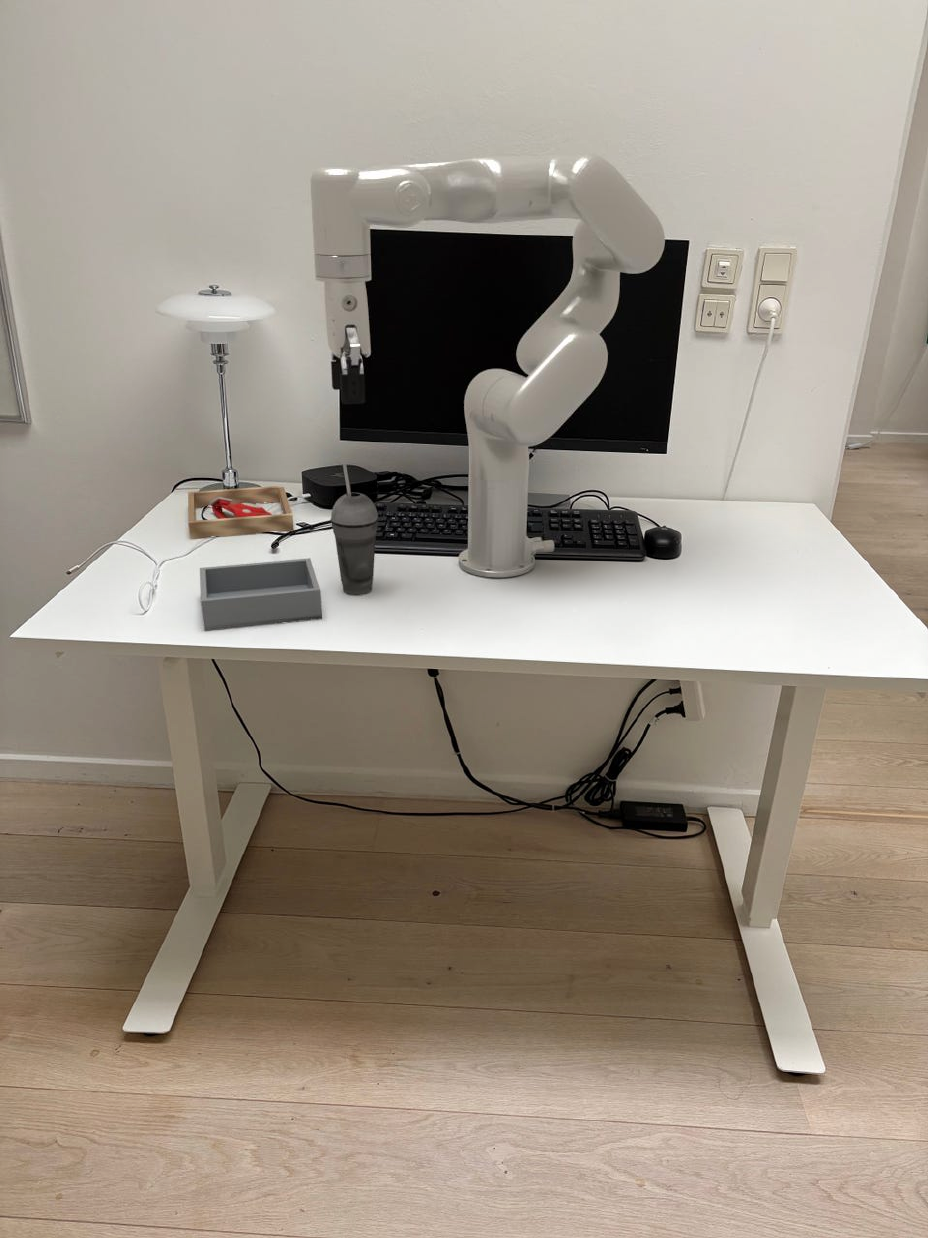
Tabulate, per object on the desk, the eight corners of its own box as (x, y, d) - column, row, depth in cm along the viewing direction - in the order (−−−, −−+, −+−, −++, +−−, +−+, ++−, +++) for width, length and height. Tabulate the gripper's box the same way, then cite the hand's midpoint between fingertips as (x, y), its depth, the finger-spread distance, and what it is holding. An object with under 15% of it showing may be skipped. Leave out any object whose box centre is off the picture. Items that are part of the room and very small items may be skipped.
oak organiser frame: (284, 500, 189) (283, 485, 187) (293, 530, 173) (292, 515, 172) (189, 507, 184) (188, 492, 183) (190, 539, 169) (188, 522, 167)
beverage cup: (373, 601, 145) (369, 473, 137) (327, 596, 147) (320, 469, 138) (386, 582, 152) (383, 459, 143) (342, 578, 153) (336, 456, 145)
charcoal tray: (311, 585, 151) (310, 558, 149) (322, 618, 140) (320, 589, 138) (203, 595, 147) (199, 567, 145) (204, 630, 136) (200, 601, 134)
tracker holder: (276, 507, 182) (268, 511, 173) (272, 529, 183) (263, 535, 173) (213, 492, 181) (201, 495, 172) (209, 514, 182) (196, 519, 172)
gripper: (381, 274, 122) (385, 408, 130) (360, 262, 138) (364, 382, 145) (323, 275, 121) (329, 410, 128) (308, 262, 136) (314, 384, 143)
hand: (348, 395), depth 136 cm, fingers open, 9 cm apart
